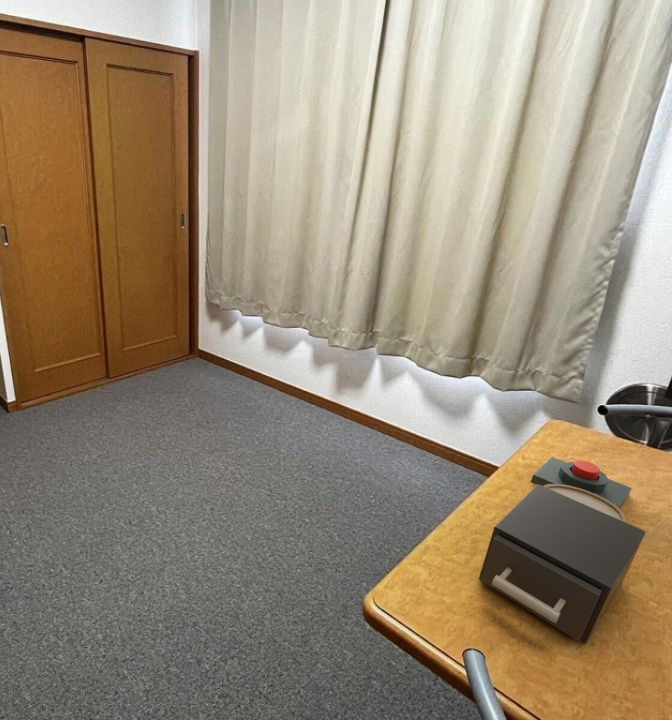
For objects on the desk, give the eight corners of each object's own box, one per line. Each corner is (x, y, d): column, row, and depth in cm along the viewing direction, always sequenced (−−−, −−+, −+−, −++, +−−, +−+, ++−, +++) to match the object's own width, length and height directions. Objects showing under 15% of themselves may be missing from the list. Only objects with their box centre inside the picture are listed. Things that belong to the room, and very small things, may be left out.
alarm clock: (624, 501, 77) (634, 541, 65) (614, 528, 78) (622, 571, 67) (541, 475, 84) (537, 507, 72) (533, 500, 85) (528, 535, 73)
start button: (599, 475, 83) (603, 467, 83) (592, 483, 81) (596, 475, 81) (575, 465, 86) (578, 457, 85) (568, 473, 84) (571, 465, 83)
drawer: (566, 660, 56) (587, 614, 53) (467, 595, 64) (480, 551, 61) (613, 585, 65) (632, 541, 62) (521, 536, 74) (534, 496, 70)
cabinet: (585, 644, 58) (611, 588, 55) (478, 578, 68) (494, 526, 64) (621, 584, 66) (646, 531, 63) (521, 532, 76) (537, 483, 72)
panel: (628, 495, 83) (635, 479, 82) (612, 518, 78) (619, 501, 77) (549, 463, 92) (554, 448, 91) (530, 482, 87) (535, 466, 86)
